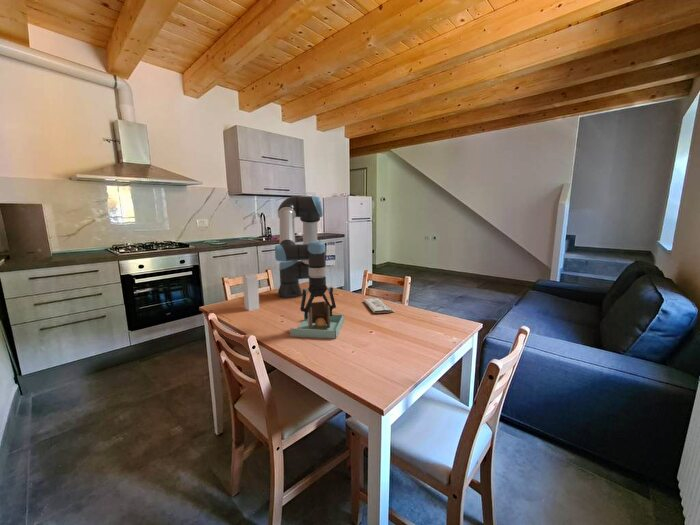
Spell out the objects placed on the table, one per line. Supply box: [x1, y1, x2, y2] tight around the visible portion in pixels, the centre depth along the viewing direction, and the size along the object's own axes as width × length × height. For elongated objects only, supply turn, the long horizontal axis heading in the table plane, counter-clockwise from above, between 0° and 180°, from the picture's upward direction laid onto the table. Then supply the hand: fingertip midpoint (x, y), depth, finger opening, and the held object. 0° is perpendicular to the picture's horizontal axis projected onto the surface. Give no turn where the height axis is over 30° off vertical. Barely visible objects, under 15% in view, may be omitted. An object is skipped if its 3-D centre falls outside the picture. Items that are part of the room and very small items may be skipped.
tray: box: [289, 312, 345, 340], centre depth 131 cm, size 20×20×4 cm
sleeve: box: [308, 300, 330, 330], centre depth 131 cm, size 8×8×10 cm
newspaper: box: [362, 298, 395, 314], centre depth 161 cm, size 23×12×2 cm, turn 12°
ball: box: [315, 318, 326, 327], centre depth 130 cm, size 5×5×5 cm
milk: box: [242, 269, 260, 312], centre depth 157 cm, size 6×6×22 cm
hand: (318, 324), depth 131 cm, fingers closed on sleeve, 9 cm apart
